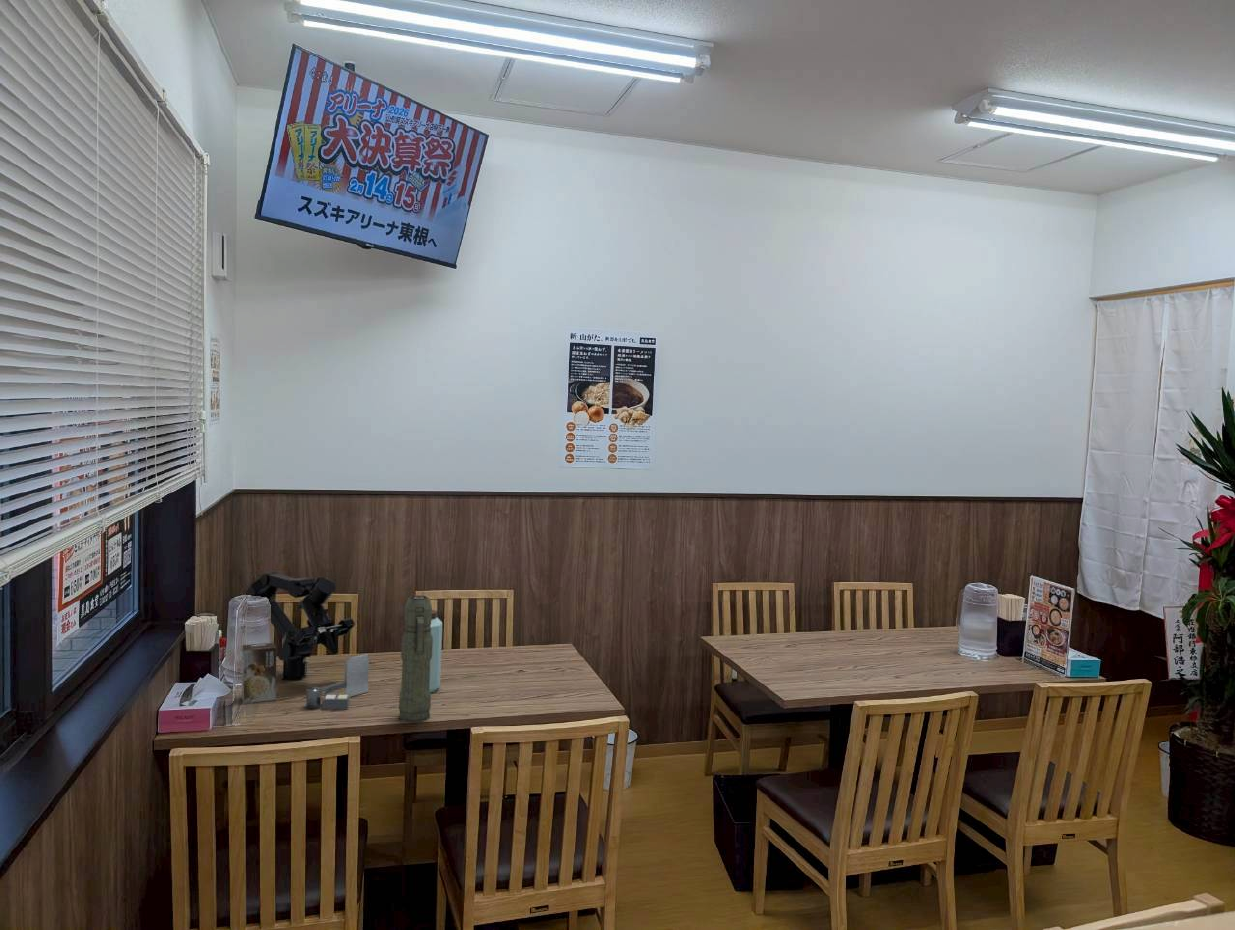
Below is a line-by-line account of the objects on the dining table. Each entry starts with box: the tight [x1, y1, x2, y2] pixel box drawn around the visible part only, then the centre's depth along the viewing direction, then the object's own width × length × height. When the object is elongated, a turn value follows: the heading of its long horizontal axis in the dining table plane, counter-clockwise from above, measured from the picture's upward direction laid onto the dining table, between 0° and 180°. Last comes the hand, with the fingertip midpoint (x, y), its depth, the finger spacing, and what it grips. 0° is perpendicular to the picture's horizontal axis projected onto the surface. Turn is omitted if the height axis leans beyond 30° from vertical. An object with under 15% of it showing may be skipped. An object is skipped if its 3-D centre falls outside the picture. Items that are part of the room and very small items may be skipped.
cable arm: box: [305, 653, 370, 710], centre depth 251 cm, size 21×4×12 cm, turn 144°
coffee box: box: [241, 642, 277, 704], centre depth 249 cm, size 9×6×16 cm
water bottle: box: [429, 609, 443, 694], centre depth 265 cm, size 10×10×25 cm
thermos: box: [398, 595, 433, 723], centre depth 240 cm, size 9×12×35 cm
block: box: [322, 693, 351, 711], centre depth 246 cm, size 7×4×3 cm, turn 99°
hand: (336, 653), depth 258 cm, fingers closed
